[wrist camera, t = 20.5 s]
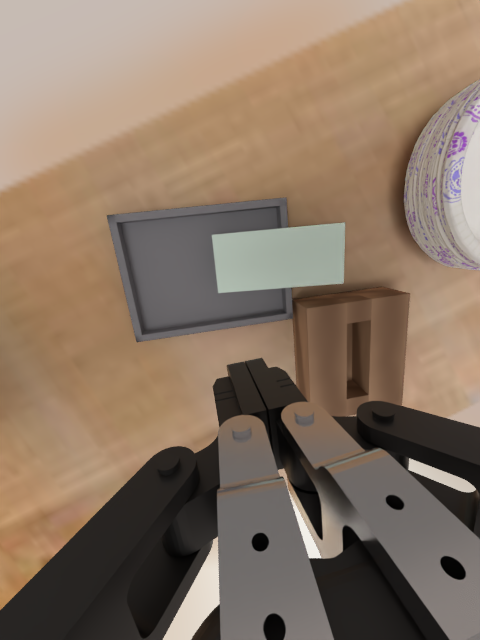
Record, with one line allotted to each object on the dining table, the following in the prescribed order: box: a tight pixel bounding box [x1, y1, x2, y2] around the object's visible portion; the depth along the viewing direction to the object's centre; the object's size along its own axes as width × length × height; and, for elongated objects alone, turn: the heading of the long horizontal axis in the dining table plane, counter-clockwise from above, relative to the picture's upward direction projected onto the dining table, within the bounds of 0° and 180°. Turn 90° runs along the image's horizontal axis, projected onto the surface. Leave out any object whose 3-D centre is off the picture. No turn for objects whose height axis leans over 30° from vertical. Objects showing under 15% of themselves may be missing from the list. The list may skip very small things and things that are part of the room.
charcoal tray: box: [107, 198, 293, 342], centre depth 25 cm, size 15×11×2 cm
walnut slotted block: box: [292, 287, 410, 417], centre depth 28 cm, size 10×12×4 cm
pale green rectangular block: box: [212, 223, 345, 293], centre depth 24 cm, size 2×5×11 cm
